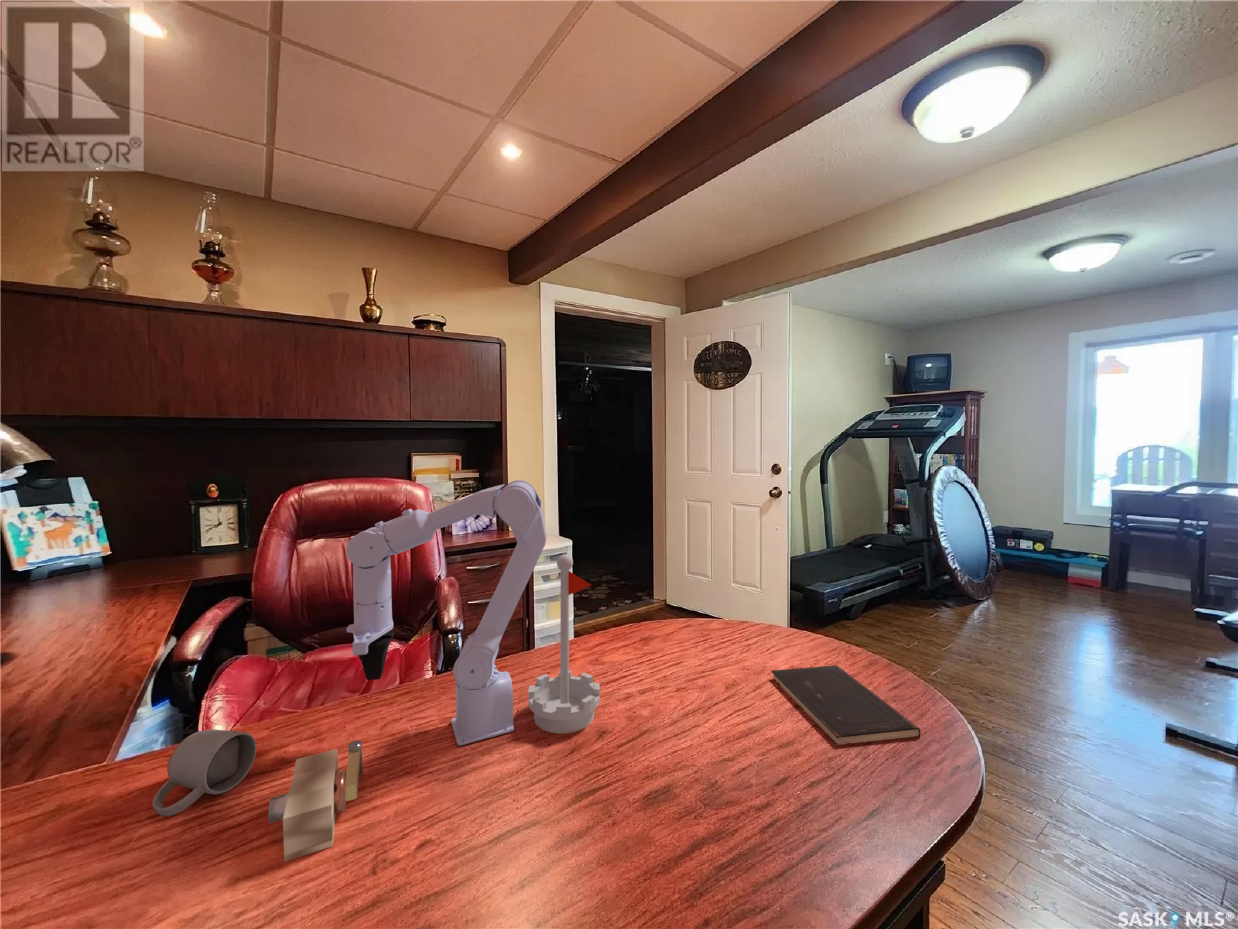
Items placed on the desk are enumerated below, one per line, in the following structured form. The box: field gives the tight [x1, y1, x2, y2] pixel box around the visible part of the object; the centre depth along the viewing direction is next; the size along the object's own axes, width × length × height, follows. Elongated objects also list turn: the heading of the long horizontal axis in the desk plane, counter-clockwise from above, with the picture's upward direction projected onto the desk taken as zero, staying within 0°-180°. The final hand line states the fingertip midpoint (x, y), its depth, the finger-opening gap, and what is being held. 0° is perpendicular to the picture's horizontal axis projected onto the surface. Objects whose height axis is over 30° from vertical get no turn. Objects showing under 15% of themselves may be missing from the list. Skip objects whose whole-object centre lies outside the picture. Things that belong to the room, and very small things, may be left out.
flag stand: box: [528, 553, 601, 735], centre depth 88 cm, size 13×13×30 cm
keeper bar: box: [345, 740, 363, 803], centre depth 70 cm, size 10×2×5 cm, turn 25°
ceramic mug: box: [152, 729, 257, 817], centre depth 69 cm, size 11×8×8 cm
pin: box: [267, 769, 347, 824], centre depth 64 cm, size 8×5×5 cm, turn 117°
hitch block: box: [282, 748, 339, 863], centre depth 64 cm, size 5×12×5 cm, turn 27°
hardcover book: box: [771, 665, 921, 746], centre depth 94 cm, size 16×23×2 cm
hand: (374, 677), depth 83 cm, fingers closed
